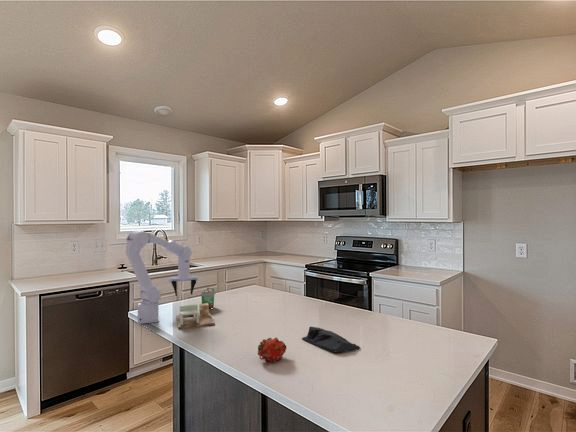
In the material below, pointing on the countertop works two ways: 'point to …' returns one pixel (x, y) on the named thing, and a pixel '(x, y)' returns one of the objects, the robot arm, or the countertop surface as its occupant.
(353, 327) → the countertop surface
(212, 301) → the food container
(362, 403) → the countertop surface
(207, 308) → the maple block
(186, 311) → the sliding cover
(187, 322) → the puzzle board
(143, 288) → the robot arm
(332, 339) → the charcoal beanbag
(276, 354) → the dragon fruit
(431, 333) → the countertop surface
